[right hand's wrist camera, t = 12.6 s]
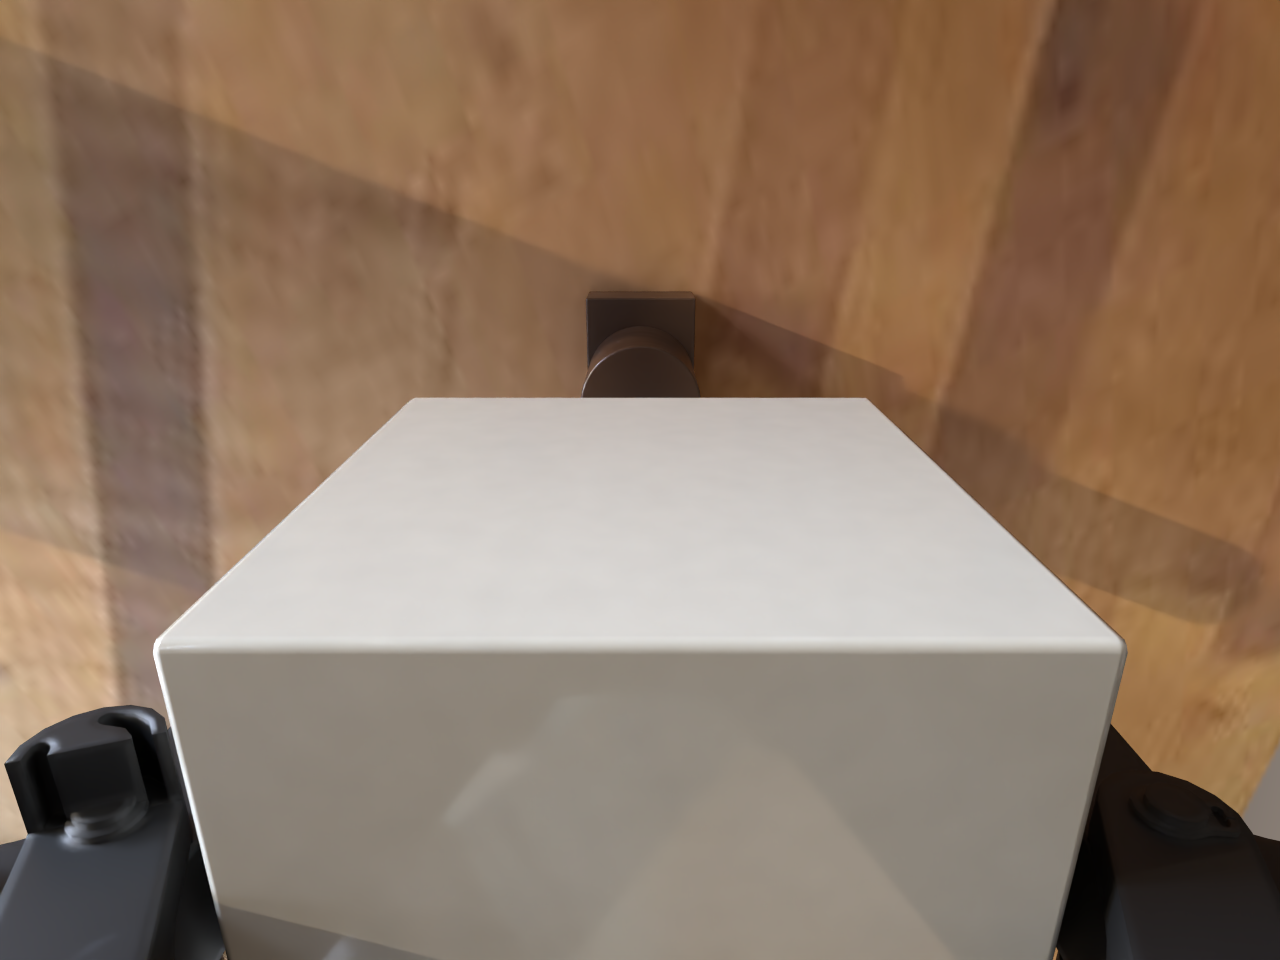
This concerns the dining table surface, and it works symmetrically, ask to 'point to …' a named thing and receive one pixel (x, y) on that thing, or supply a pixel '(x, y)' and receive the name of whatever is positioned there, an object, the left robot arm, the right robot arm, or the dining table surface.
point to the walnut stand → (640, 345)
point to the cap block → (640, 697)
